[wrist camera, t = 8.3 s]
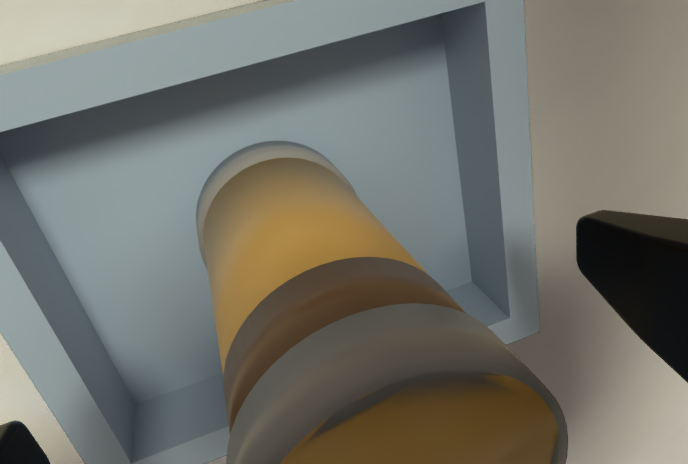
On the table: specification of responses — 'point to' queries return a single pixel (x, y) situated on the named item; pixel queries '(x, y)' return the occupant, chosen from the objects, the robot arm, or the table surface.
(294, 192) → the fuse
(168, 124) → the tray
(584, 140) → the table surface
